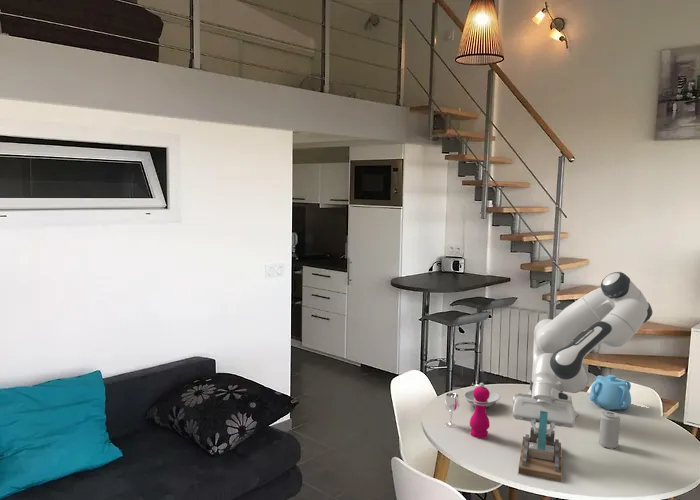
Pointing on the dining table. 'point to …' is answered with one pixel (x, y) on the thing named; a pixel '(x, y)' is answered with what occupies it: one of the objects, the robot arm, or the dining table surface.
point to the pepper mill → (480, 413)
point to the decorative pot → (611, 392)
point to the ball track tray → (537, 465)
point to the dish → (491, 400)
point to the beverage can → (609, 429)
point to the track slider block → (541, 441)
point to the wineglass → (451, 406)
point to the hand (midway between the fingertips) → (542, 434)
